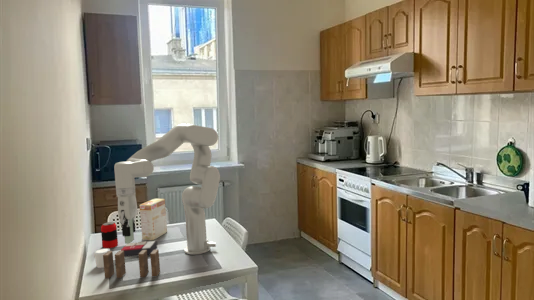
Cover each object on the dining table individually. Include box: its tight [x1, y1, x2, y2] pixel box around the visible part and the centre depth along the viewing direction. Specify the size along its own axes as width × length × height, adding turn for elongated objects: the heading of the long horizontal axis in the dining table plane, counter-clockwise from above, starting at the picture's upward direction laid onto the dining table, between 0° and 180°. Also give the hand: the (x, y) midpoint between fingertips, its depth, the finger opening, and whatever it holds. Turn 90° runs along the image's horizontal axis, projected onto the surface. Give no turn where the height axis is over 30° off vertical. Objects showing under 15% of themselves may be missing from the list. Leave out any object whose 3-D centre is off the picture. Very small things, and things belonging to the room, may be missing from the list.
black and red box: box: [120, 240, 158, 257], centre depth 205 cm, size 11×4×15 cm
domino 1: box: [103, 250, 115, 279], centre depth 176 cm, size 2×5×10 cm, turn 178°
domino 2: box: [114, 250, 127, 279], centre depth 176 cm, size 2×5×10 cm, turn 178°
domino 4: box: [138, 250, 149, 278], centre depth 175 cm, size 2×5×10 cm, turn 178°
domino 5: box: [149, 248, 161, 277], centre depth 175 cm, size 2×5×10 cm, turn 178°
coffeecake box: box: [139, 198, 168, 241], centre depth 229 cm, size 15×7×20 cm, turn 162°
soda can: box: [100, 221, 119, 249], centre depth 215 cm, size 8×8×12 cm
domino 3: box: [124, 218, 135, 245], centre depth 174 cm, size 2×5×10 cm, turn 178°
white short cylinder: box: [93, 248, 111, 269], centre depth 188 cm, size 7×7×7 cm
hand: (129, 233), depth 174 cm, fingers closed on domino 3, 4 cm apart
